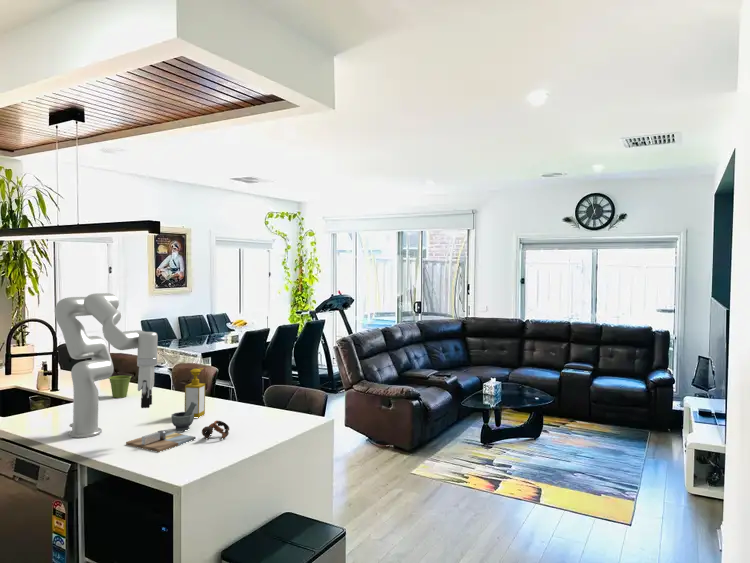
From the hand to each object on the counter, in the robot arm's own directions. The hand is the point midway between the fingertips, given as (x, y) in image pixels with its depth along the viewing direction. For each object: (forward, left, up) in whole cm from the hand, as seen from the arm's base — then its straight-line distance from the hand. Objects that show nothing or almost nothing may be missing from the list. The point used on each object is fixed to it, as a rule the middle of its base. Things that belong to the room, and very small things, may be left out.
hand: (146, 405), depth 218 cm
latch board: (+5, +4, -15) cm, 16 cm away
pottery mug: (+20, +19, -16) cm, 31 cm away
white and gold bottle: (-16, +44, -16) cm, 50 cm away
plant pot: (-83, +52, -16) cm, 99 cm away
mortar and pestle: (-2, +22, -16) cm, 27 cm away
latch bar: (+5, 0, -14) cm, 15 cm away
